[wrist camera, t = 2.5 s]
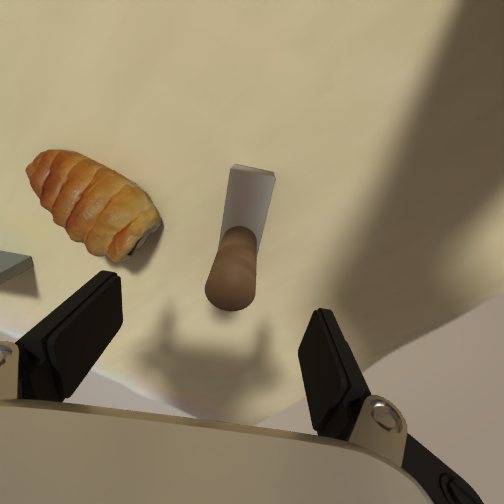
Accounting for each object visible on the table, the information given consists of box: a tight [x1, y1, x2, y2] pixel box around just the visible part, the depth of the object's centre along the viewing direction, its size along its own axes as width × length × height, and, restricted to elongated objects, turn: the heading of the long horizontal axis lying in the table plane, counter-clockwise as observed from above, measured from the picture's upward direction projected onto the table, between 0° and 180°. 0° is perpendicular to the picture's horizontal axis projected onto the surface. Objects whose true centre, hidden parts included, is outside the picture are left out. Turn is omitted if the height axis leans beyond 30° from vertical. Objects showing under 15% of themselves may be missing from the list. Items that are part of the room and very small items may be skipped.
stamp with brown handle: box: [205, 164, 276, 311], centre depth 16 cm, size 3×10×9 cm, turn 169°
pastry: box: [25, 150, 161, 263], centre depth 17 cm, size 9×7×4 cm
